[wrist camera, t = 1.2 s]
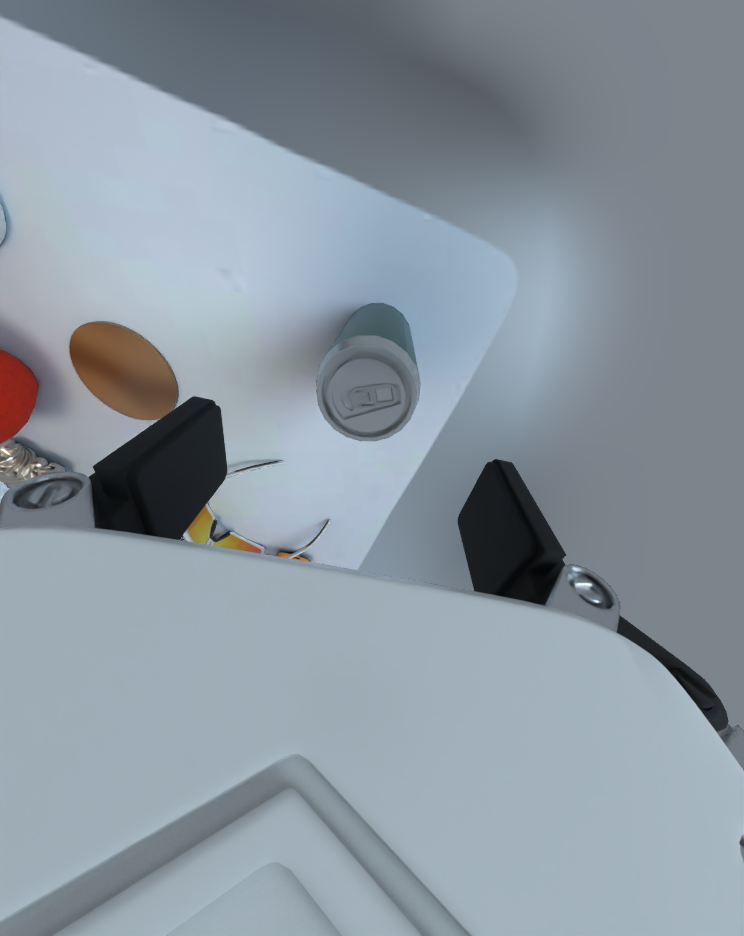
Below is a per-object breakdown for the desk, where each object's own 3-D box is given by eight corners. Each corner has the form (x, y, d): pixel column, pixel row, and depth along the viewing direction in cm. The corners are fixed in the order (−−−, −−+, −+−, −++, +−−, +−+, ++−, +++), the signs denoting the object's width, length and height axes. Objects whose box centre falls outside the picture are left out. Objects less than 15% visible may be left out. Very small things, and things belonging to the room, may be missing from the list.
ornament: (97, 488, 36) (71, 509, 33) (52, 493, 37) (23, 514, 34) (43, 432, 32) (8, 450, 29) (-6, 440, 33) (-45, 459, 30)
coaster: (55, 309, 24) (50, 310, 24) (167, 334, 25) (164, 335, 24) (94, 408, 30) (91, 409, 29) (186, 426, 30) (183, 428, 30)
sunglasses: (173, 490, 36) (150, 519, 31) (275, 436, 33) (264, 460, 28) (251, 558, 43) (240, 588, 39) (340, 518, 40) (339, 547, 36)
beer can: (407, 295, 22) (417, 330, 12) (413, 366, 25) (425, 439, 15) (338, 308, 23) (296, 350, 13) (352, 375, 26) (327, 450, 16)
